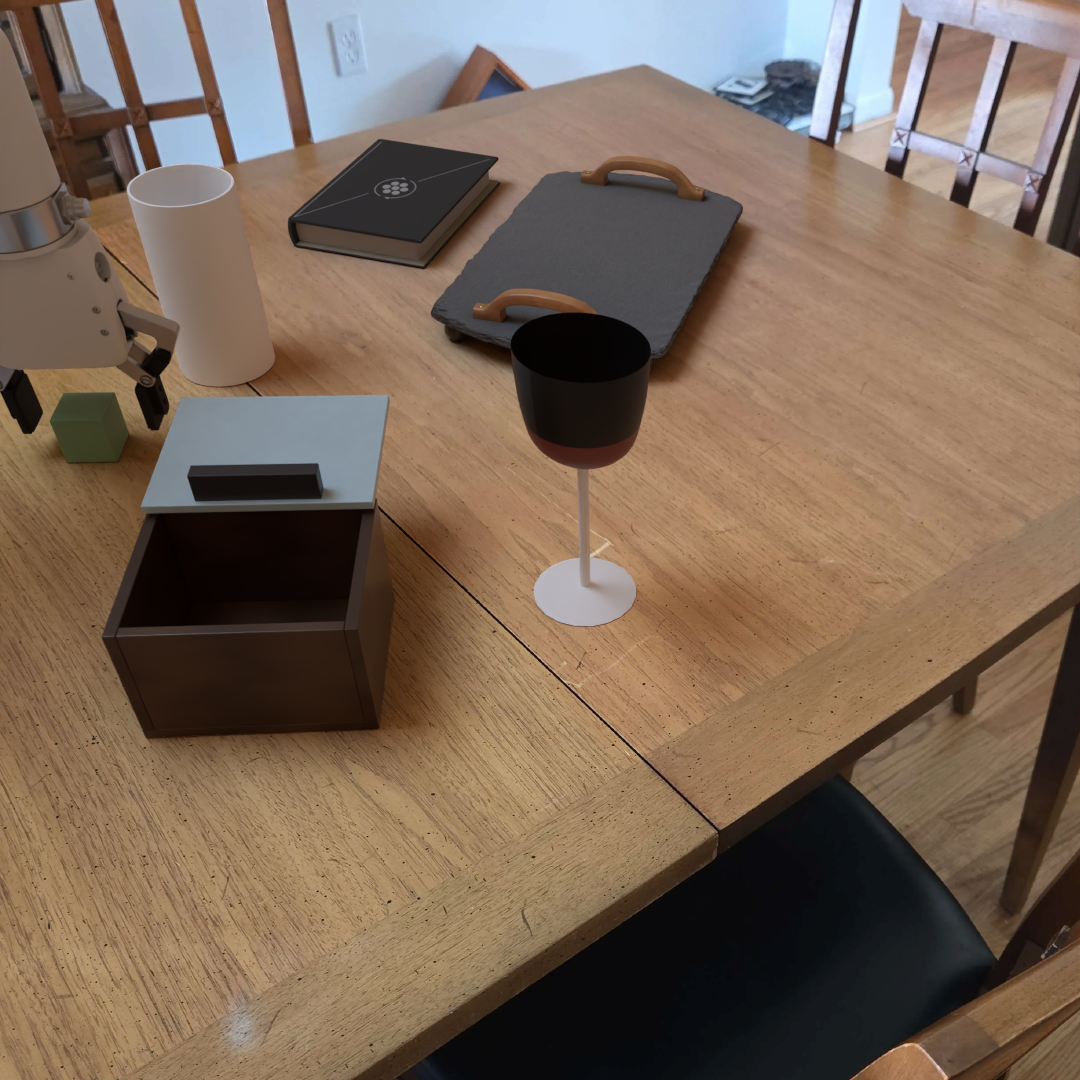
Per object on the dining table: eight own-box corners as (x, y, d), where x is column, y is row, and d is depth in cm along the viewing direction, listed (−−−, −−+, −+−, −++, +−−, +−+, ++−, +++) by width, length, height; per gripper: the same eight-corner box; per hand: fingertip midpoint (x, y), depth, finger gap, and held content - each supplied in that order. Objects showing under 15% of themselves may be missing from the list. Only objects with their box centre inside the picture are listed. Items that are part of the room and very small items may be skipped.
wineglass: (560, 541, 88) (551, 299, 74) (662, 578, 86) (673, 335, 72) (505, 603, 83) (484, 357, 69) (611, 644, 81) (613, 397, 67)
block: (66, 463, 93) (48, 420, 90) (79, 434, 96) (63, 392, 93) (117, 462, 93) (102, 420, 90) (129, 433, 96) (114, 391, 93)
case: (145, 738, 73) (100, 637, 67) (185, 603, 82) (149, 502, 76) (379, 729, 75) (357, 629, 68) (394, 598, 83) (377, 498, 77)
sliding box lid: (142, 514, 74) (130, 481, 72) (183, 404, 83) (173, 372, 81) (374, 509, 76) (368, 476, 74) (390, 401, 84) (385, 370, 82)
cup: (160, 365, 103) (103, 187, 92) (233, 328, 108) (188, 154, 96) (222, 397, 100) (172, 217, 89) (294, 358, 105) (256, 182, 93)
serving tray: (655, 399, 102) (657, 336, 98) (413, 354, 106) (404, 291, 102) (751, 216, 129) (756, 160, 124) (554, 185, 132) (552, 129, 128)
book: (380, 164, 134) (376, 137, 132) (500, 183, 132) (498, 156, 130) (290, 246, 120) (284, 218, 117) (424, 269, 117) (420, 240, 115)
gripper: (152, 190, 84) (215, 393, 96) (-98, 193, 82) (-1, 399, 95) (128, 239, 79) (197, 447, 91) (-139, 243, 77) (-31, 453, 90)
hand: (96, 422), depth 93 cm, fingers open, 9 cm apart
